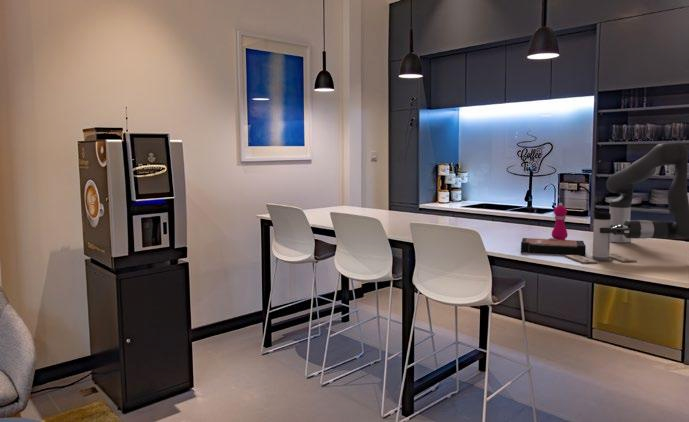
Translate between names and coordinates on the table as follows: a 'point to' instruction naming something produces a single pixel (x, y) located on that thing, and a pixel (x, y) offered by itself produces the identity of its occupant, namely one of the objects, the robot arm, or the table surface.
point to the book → (553, 246)
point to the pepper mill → (560, 223)
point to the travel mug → (601, 236)
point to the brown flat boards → (593, 261)
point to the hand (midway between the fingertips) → (596, 228)
